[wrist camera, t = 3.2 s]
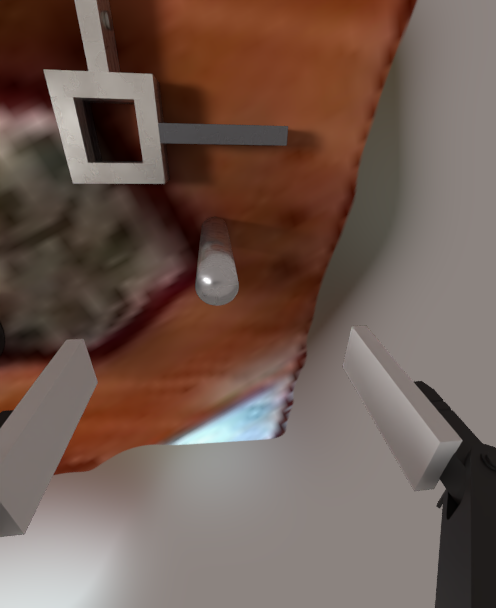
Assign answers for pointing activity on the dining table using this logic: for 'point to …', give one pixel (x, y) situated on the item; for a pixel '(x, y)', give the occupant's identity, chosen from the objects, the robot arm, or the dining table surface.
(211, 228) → the pin
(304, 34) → the dining table surface
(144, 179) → the grey flat branched piece
